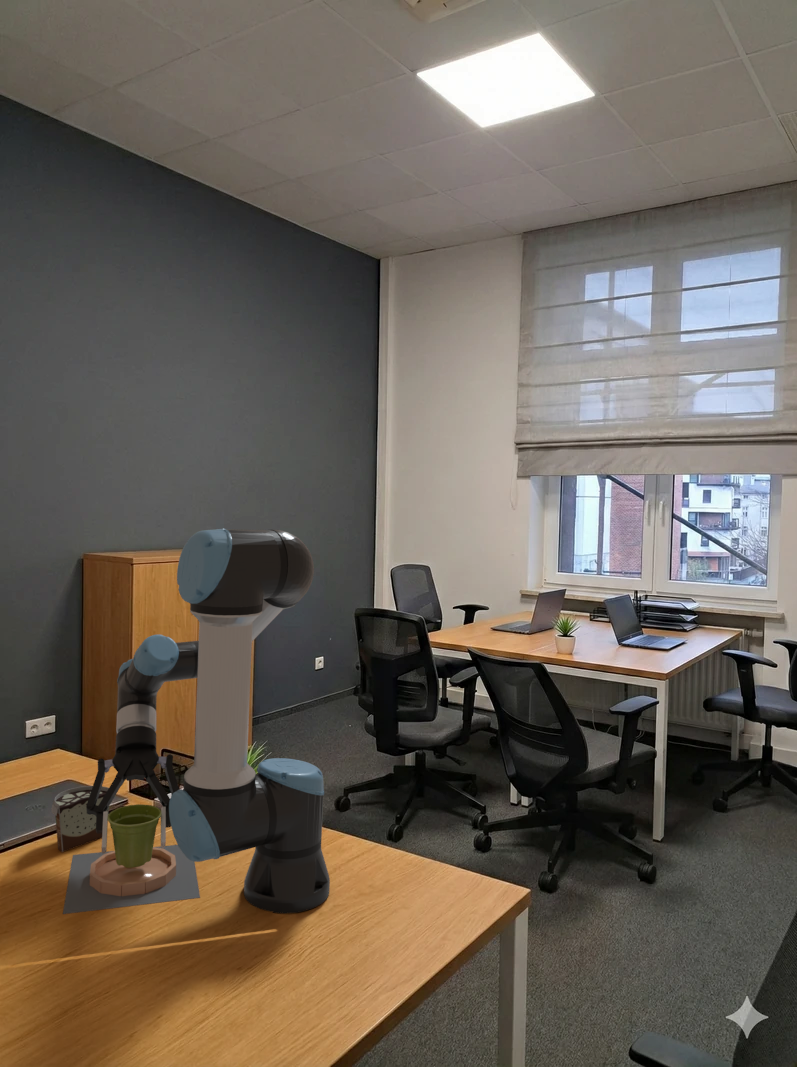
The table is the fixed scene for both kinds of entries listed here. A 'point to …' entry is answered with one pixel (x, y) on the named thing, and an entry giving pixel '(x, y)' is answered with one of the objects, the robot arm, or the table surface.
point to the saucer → (132, 874)
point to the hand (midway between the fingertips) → (134, 847)
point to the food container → (75, 817)
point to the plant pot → (134, 833)
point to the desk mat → (90, 899)
